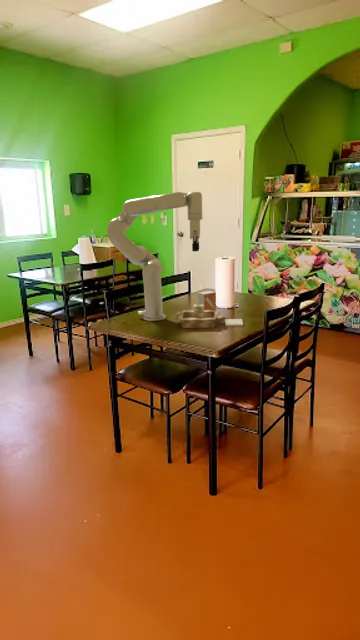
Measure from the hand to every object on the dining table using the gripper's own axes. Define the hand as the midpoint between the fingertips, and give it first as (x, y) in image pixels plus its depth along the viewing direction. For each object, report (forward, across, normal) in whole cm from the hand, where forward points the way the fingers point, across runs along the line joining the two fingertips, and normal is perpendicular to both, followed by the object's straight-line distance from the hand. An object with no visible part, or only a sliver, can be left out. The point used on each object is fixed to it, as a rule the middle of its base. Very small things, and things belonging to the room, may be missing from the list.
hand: (195, 250), depth 230 cm
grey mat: (+37, +13, +19) cm, 43 cm away
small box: (+37, -5, +5) cm, 38 cm away
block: (+37, +13, +1) cm, 39 cm away
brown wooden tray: (+37, +13, +1) cm, 39 cm away
